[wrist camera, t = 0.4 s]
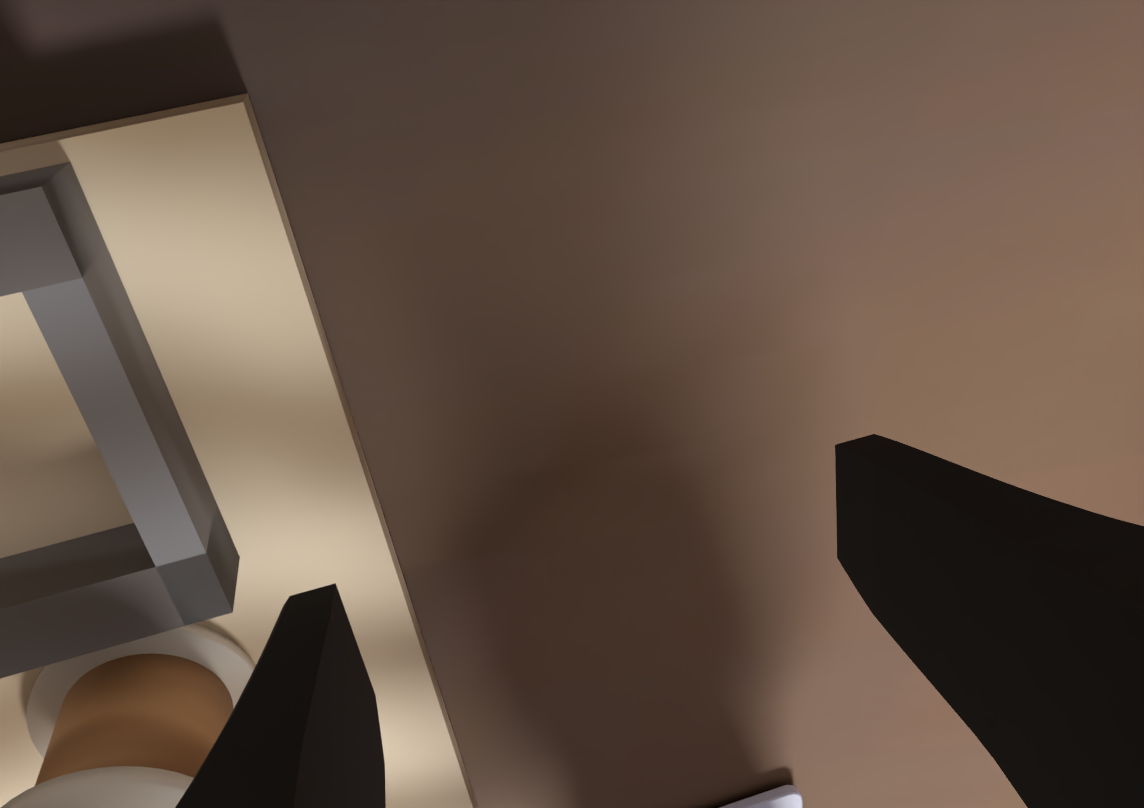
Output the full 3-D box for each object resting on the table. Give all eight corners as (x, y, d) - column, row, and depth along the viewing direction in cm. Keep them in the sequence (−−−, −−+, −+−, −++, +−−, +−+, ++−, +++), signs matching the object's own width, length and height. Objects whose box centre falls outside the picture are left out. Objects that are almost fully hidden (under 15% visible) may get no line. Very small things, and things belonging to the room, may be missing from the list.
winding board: (505, 893, 30) (544, 1090, 25) (169, 1009, 29) (136, 1243, 23) (247, 92, 18) (218, 152, 13) (-371, 219, 16) (-697, 347, 11)
